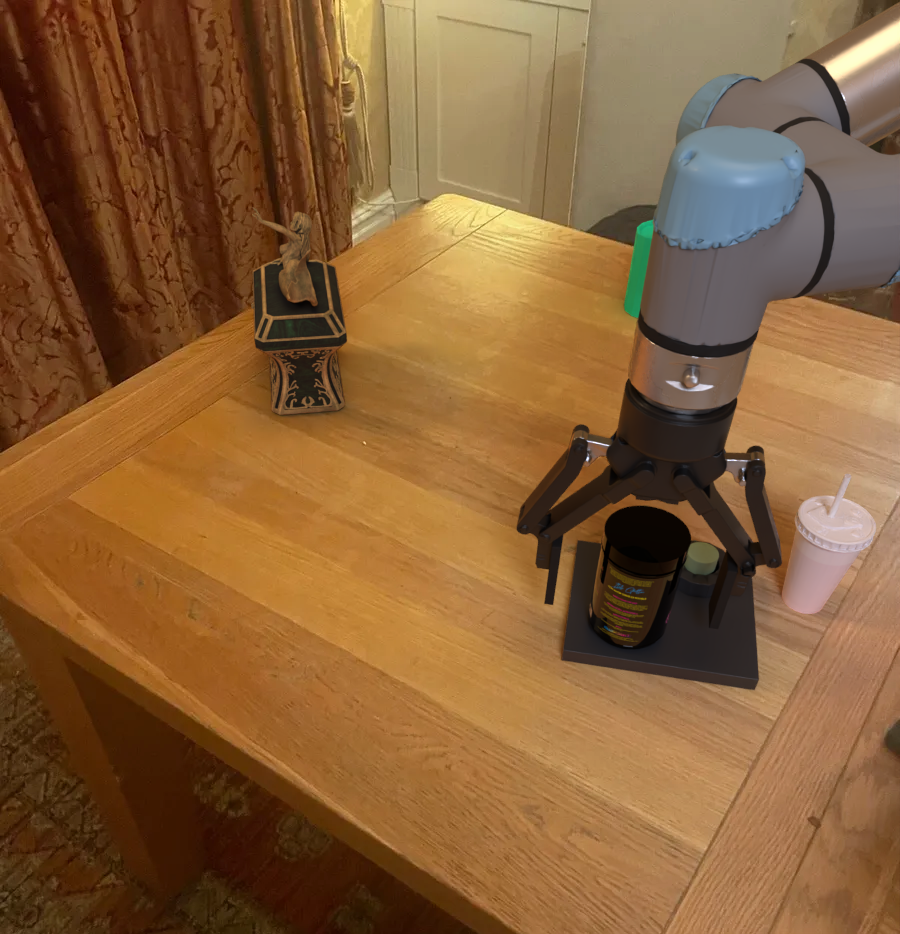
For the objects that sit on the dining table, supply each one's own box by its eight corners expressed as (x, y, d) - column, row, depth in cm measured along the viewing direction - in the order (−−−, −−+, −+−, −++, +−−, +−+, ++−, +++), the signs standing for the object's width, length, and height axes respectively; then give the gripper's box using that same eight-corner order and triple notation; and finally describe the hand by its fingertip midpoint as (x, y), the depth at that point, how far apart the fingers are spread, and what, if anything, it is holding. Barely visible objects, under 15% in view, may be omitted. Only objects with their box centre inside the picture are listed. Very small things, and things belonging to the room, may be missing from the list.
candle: (665, 323, 117) (684, 231, 108) (619, 315, 118) (634, 223, 109) (672, 302, 121) (691, 211, 112) (628, 294, 122) (643, 204, 113)
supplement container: (668, 657, 75) (696, 566, 68) (587, 650, 75) (605, 559, 68) (662, 599, 80) (687, 508, 72) (585, 593, 80) (602, 502, 73)
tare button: (714, 556, 82) (718, 544, 81) (715, 577, 80) (719, 565, 79) (683, 552, 82) (687, 539, 81) (683, 573, 80) (687, 560, 79)
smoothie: (768, 568, 85) (814, 446, 75) (839, 583, 84) (895, 461, 74) (764, 616, 81) (813, 493, 71) (839, 632, 79) (899, 510, 69)
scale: (747, 572, 85) (755, 548, 82) (754, 690, 75) (764, 667, 73) (576, 548, 86) (580, 524, 84) (561, 660, 76) (565, 637, 74)
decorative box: (261, 347, 110) (237, 181, 96) (340, 341, 112) (328, 177, 98) (265, 444, 97) (238, 267, 83) (355, 436, 98) (343, 261, 84)
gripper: (490, 394, 60) (477, 615, 75) (883, 441, 57) (786, 661, 72) (506, 336, 65) (491, 554, 80) (867, 377, 62) (780, 595, 77)
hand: (630, 605), depth 76 cm, fingers open, 13 cm apart
